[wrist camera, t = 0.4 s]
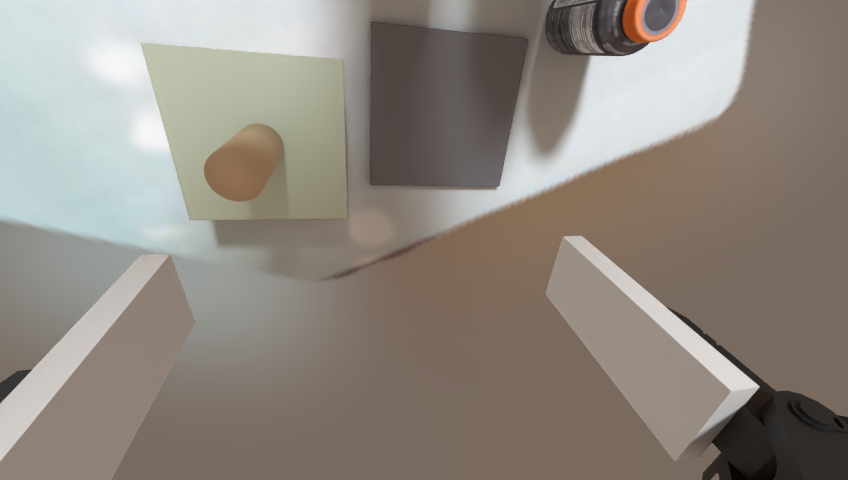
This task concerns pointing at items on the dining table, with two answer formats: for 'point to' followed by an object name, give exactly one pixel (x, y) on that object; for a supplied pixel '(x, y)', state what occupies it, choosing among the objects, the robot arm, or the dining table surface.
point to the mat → (441, 105)
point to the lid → (253, 131)
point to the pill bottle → (610, 25)
